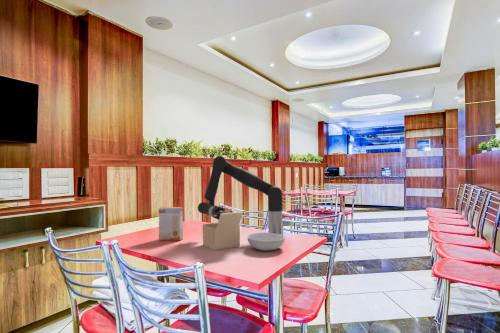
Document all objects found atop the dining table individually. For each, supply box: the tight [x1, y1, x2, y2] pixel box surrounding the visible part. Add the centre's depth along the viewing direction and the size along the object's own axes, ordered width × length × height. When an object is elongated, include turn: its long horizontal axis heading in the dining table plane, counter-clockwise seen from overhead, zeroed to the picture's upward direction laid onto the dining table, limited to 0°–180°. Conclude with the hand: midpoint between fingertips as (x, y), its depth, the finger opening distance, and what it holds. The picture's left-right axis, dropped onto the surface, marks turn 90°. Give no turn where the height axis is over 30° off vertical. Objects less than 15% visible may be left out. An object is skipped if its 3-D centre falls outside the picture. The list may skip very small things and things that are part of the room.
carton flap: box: [217, 211, 244, 229], centre depth 158 cm, size 10×14×1 cm
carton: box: [202, 222, 241, 252], centre depth 167 cm, size 17×17×12 cm
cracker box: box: [158, 206, 184, 242], centre depth 182 cm, size 14×6×21 cm, turn 84°
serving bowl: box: [247, 232, 286, 252], centre depth 160 cm, size 21×21×7 cm
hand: (230, 216), depth 158 cm, fingers closed
